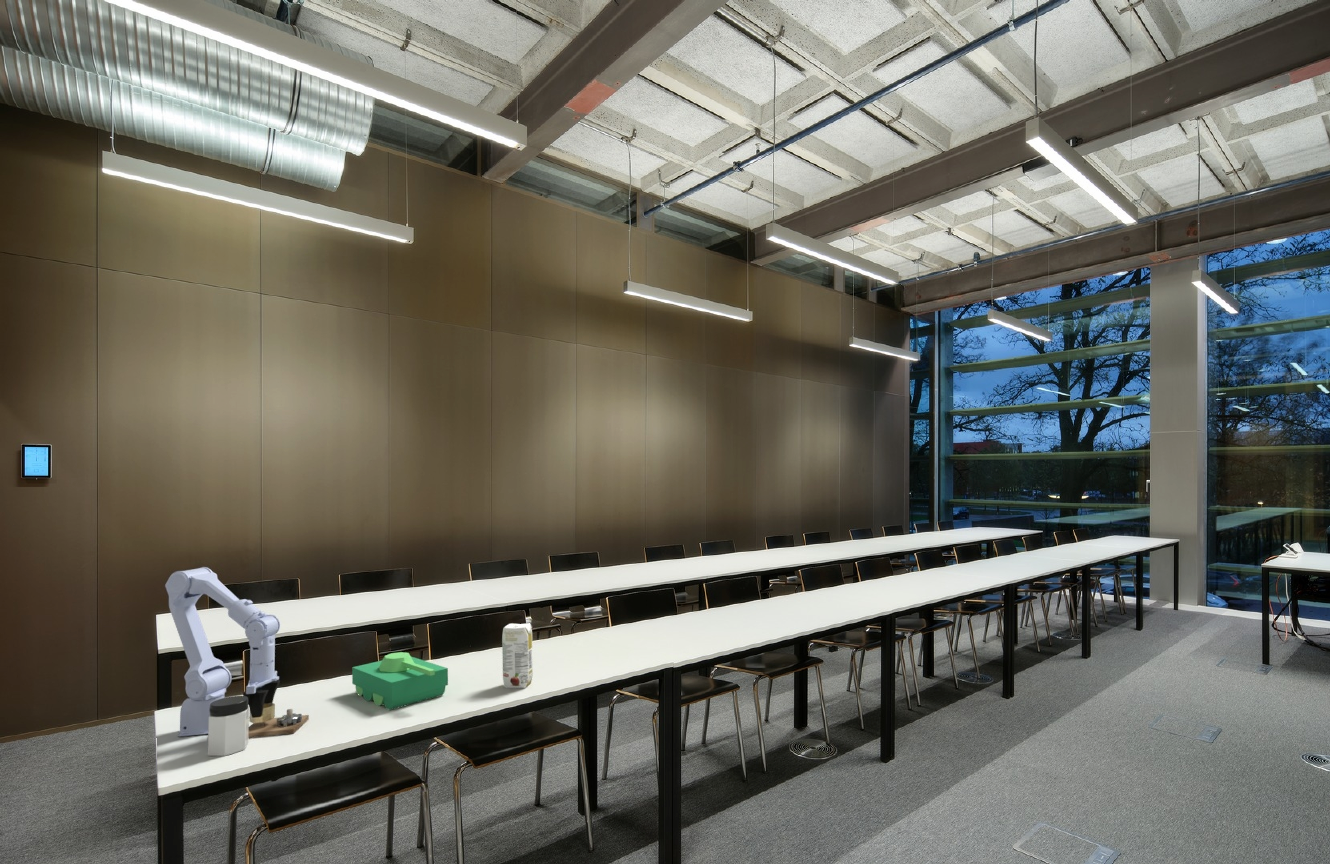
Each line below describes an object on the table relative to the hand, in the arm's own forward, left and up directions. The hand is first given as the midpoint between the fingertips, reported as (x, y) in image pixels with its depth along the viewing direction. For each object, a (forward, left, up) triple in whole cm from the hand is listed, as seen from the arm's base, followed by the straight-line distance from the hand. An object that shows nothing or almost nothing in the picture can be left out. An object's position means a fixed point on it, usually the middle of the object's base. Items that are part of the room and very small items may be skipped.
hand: (261, 713), depth 178 cm
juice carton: (+67, +21, -5) cm, 70 cm away
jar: (-2, -13, -5) cm, 14 cm away
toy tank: (+33, +19, -5) cm, 38 cm away
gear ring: (0, 0, -2) cm, 2 cm away
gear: (+7, 0, -3) cm, 8 cm away
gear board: (+4, 0, -4) cm, 6 cm away
